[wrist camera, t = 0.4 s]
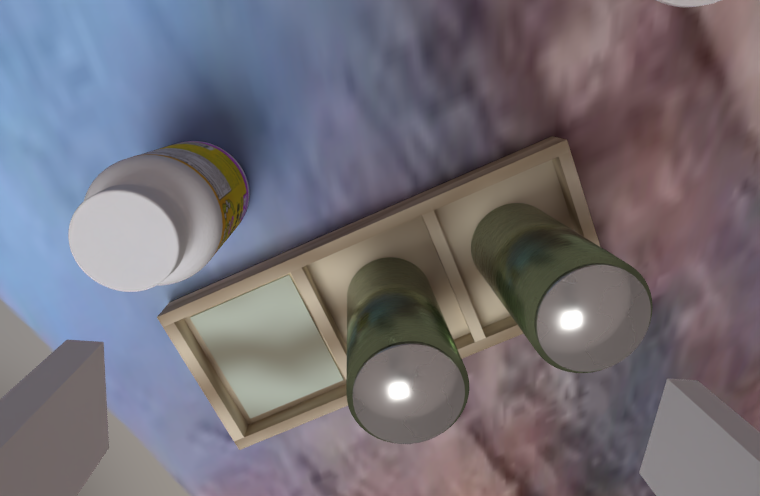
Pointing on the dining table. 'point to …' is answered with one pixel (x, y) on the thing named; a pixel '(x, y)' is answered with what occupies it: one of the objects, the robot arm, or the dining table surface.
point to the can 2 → (562, 288)
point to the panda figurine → (687, 2)
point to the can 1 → (401, 355)
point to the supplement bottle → (158, 216)
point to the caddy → (330, 286)
